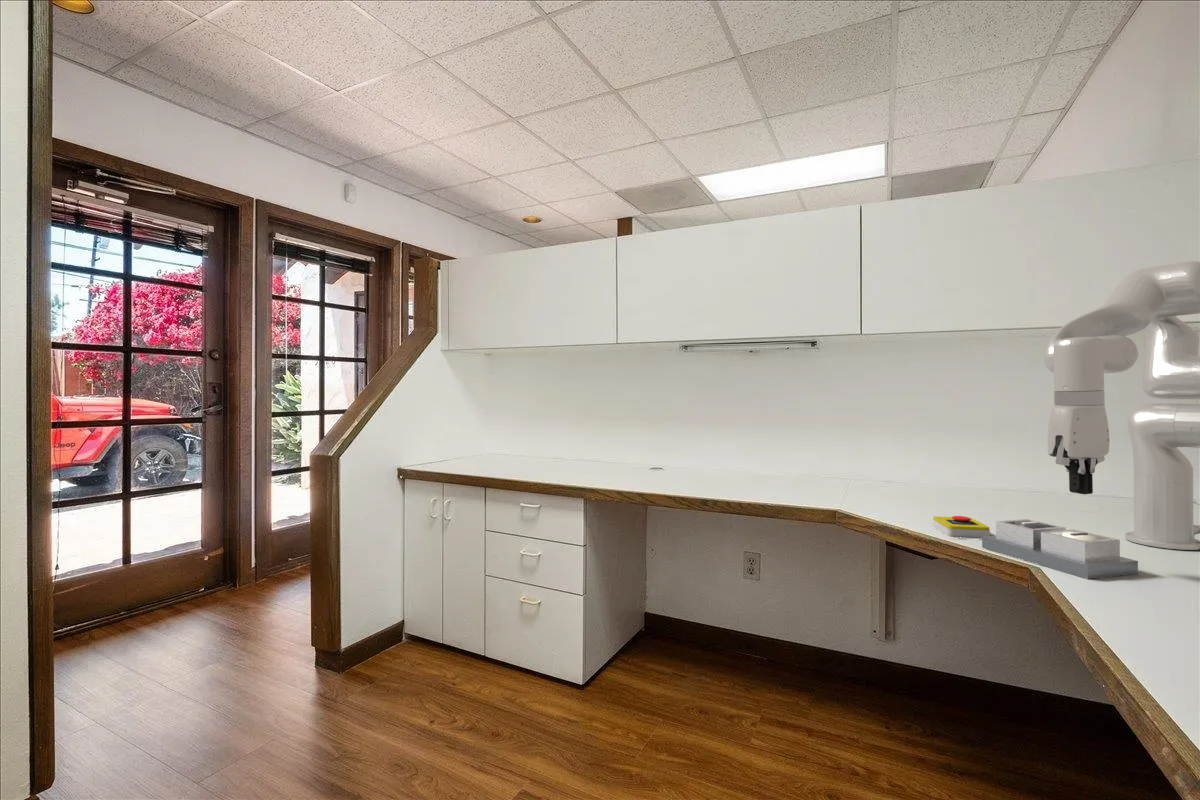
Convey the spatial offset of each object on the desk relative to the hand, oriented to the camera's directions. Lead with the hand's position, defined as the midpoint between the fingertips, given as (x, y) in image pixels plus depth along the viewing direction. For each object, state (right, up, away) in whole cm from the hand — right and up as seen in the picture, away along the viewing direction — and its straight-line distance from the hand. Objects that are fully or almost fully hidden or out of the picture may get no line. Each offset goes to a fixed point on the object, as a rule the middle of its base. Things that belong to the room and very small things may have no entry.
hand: (1080, 492), depth 110 cm
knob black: (-3, -14, +10) cm, 17 cm away
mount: (-2, -15, +5) cm, 15 cm away
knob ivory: (-1, -14, 0) cm, 14 cm away
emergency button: (-6, -15, +28) cm, 33 cm away
